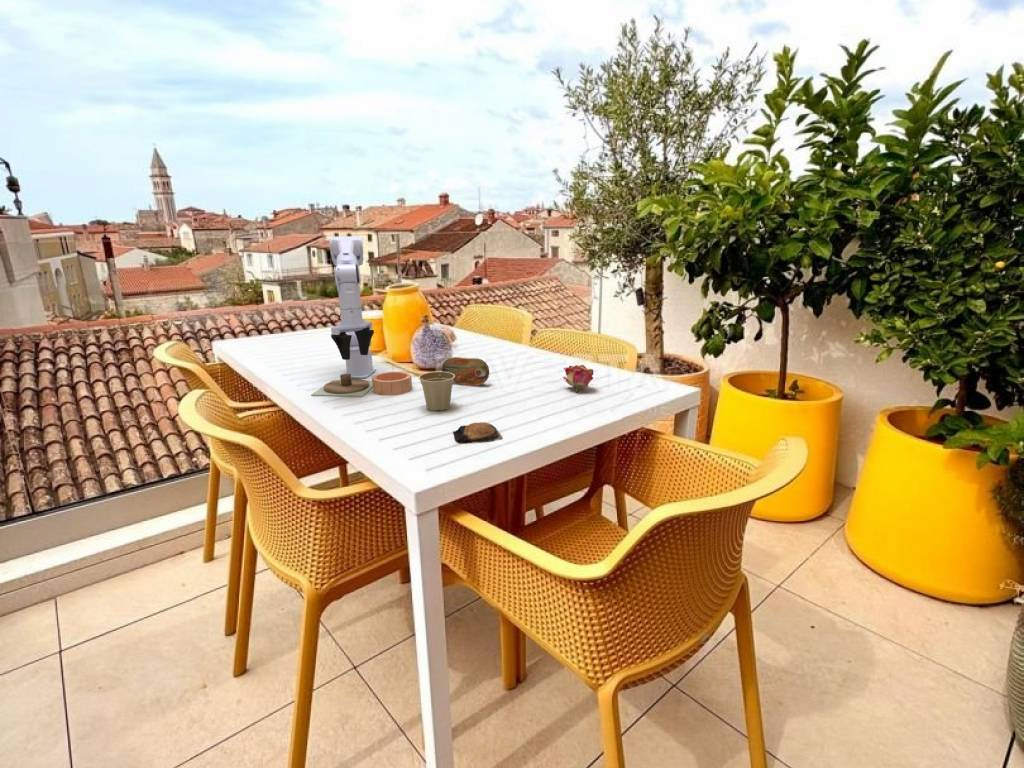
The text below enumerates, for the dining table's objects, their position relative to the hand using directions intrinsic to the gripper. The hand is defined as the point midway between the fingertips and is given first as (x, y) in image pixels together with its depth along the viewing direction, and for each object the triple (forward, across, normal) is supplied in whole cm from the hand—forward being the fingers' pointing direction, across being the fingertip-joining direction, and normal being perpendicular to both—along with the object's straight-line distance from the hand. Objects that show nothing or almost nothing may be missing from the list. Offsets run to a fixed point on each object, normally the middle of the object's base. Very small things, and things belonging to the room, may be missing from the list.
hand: (355, 357), depth 140 cm
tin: (+11, +22, -23) cm, 34 cm away
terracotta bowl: (+11, +8, -6) cm, 15 cm away
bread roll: (+14, -14, -45) cm, 49 cm away
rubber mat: (+10, +4, +8) cm, 13 cm away
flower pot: (+12, 0, -27) cm, 29 cm away
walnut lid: (+10, +4, +8) cm, 13 cm away
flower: (+12, +29, -57) cm, 65 cm away
